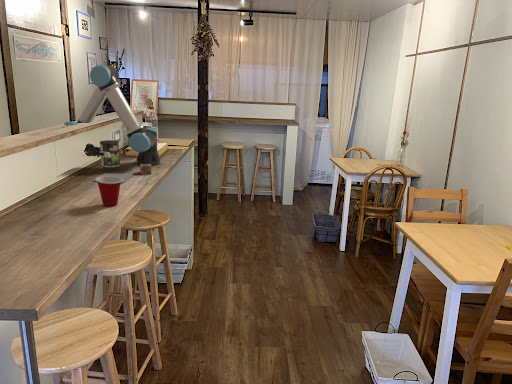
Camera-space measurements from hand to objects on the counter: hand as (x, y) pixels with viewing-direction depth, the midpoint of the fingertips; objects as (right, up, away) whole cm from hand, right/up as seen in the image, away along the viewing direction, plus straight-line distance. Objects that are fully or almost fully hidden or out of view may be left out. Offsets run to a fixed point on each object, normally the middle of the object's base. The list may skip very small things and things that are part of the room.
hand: (115, 153), depth 225 cm
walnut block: (+17, -12, +2) cm, 21 cm away
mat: (+3, -15, -13) cm, 20 cm away
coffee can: (-4, -7, +4) cm, 9 cm away
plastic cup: (+17, -28, -54) cm, 64 cm away
